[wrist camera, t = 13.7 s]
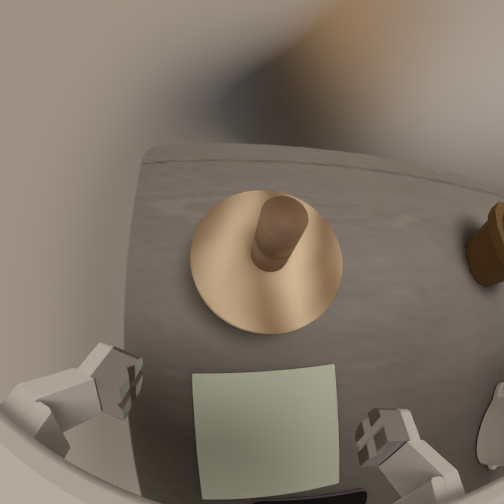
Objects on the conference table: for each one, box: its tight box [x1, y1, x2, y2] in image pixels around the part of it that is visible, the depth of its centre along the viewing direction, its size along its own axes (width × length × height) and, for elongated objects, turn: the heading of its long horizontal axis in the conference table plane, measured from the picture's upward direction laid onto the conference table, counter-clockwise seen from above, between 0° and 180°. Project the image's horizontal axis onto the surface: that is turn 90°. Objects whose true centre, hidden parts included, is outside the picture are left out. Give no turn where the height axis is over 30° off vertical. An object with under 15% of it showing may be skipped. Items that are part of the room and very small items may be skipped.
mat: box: [192, 364, 339, 499], centre depth 25 cm, size 16×16×1 cm
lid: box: [190, 190, 343, 335], centre depth 24 cm, size 15×15×8 cm
